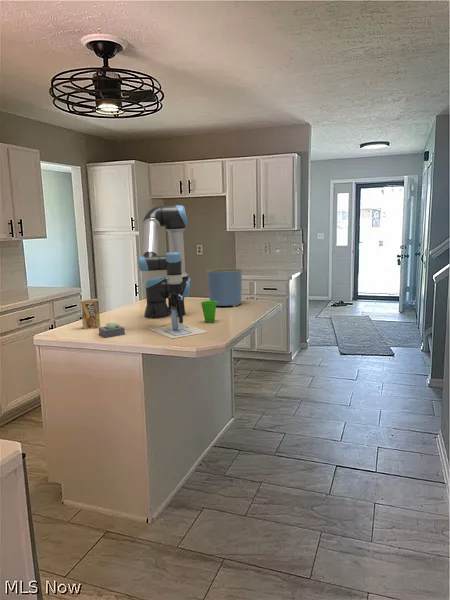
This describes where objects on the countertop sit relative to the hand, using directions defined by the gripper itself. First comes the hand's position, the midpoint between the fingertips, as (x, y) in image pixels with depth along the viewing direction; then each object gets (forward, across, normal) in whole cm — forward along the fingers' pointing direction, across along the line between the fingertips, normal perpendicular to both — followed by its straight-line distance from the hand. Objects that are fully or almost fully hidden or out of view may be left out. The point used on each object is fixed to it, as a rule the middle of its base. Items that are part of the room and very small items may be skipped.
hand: (177, 327), depth 234 cm
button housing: (+1, -16, -29) cm, 33 cm away
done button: (0, -16, -29) cm, 33 cm away
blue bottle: (+1, 0, 0) cm, 1 cm away
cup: (+2, -8, +24) cm, 25 cm away
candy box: (+2, -40, -32) cm, 51 cm away
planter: (+2, -47, +60) cm, 76 cm away
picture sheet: (+1, +1, 0) cm, 2 cm away
